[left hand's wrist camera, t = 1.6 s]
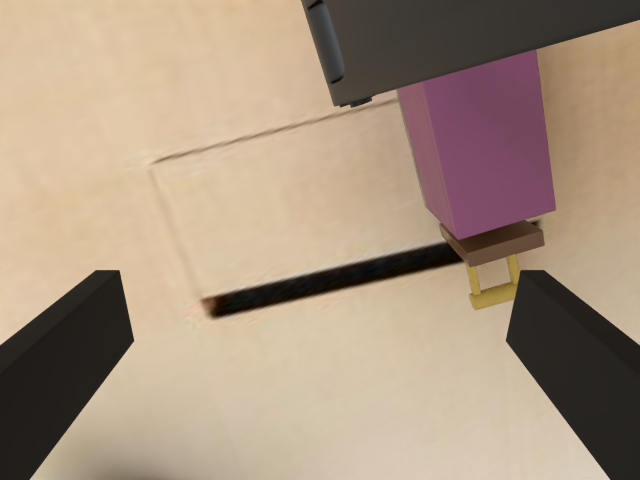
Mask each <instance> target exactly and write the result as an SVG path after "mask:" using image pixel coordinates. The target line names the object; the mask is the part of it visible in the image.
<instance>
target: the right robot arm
mask: <svg viewBox="0 0 640 480" xmlns="http://www.w3.org/2000/svg"><path fill="white" fill-rule="evenodd" d="M301 1H302V5H303V8H304V11H305V14H306V18H307V21H308V24H309V27H310V31H311V34H312V37H313V40H314V43H315V47H316V50H317V53H318V56H319V60H320V63H321V66H322V69H323V72H324V76H325V79H326V82H327V85H328V88H329V91H330V95H331V98H332V101H333V104H334V106H338V105H340V107H343V106H346V105H350V106H351V108H352V107H356V106H359V105H362V104H365V103H367V102H370V101H372V98H371V97H373V96H375V95H377V94H380V93H384V92H388V91H391V90H395V89H398V88H402V87H405V86H409V85H412V84H416V83H419V82H423V81H426V80H430V79H433V78H437V77H440V76H444V75H447V74H451V73H454V72H458V71H461V70H465V69H468V68H472V67H475V66H479V65H482V64H486V63H489V62H493V61H497V60H500V59H504V58H507V57H511V56H514V55H518V54H521V53H525V52H528V51H532V50H535V49H539V48H542V47H546V46H549V45H553V44H556V43H560V42H563V41H567V40H570V39H574V38H577V37H581V36H584V35H588V34H591V33H595V32H598V31H602V30H606V29H609V28H613V27H616V26H620V25H623V24H627V23H630V22H634V21H637V20H640V0H301Z"/></svg>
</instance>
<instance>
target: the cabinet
mask: <svg viewBox="0 0 640 480" xmlns="http://www.w3.org/2000/svg"><path fill="white" fill-rule="evenodd" d="M396 92H397V96H398V100H399V104H400V108H401V112H402V116H403V120H404V124H405V128H406V132H407V136H408V140H409V144H410V148H411V152H412V156H413V160H414V164H415V168H416V172H417V176H418V180H419V184H420V188H421V192H422V196H423V200H424V204H425V207H426V208H427V209H429V210H430V211H431V212H432V213H433V214H434V215H435V216H436V217H437V218H438V219H439V221H440V222H441V223H442V224H443V225H444V226H445V227H446V228H447V229H448V230H449V231H450V232H451V233H452V234H453V235H454V236H455V237H456V238H457V239H458V240H460V239H463V238H467V237H470V236H473V235H476V234H480V233H483V232H486V231H489V230H493V229H496V228H499V227H502V226H506V225H509V224H512V223H515V222H519V221H522V220H525V219H528V218H532V217H535V216H538V215H541V214H545V213H548V212H551V211H554V210H556V207H555V198H554V190H553V182H552V174H551V166H550V158H549V150H548V142H547V134H546V126H545V118H544V110H543V102H542V94H541V86H540V78H539V70H538V62H537V54H536V49H535V50H532V51H528V52H525V53H521V54H518V55H514V56H511V57H507V58H504V59H500V60H497V61H493V62H489V63H486V64H482V65H479V66H475V67H472V68H468V69H465V70H461V71H458V72H454V73H451V74H447V75H444V76H440V77H437V78H433V79H430V80H426V81H423V82H419V83H416V84H412V85H409V86H405V87H402V88H398V89H396Z"/></svg>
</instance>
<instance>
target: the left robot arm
mask: <svg viewBox="0 0 640 480" xmlns="http://www.w3.org/2000/svg"><path fill="white" fill-rule="evenodd" d="M133 342H134V338H133V333H132V328H131V323H130V318H129V314H128V309H127V304H126V299H125V295H124V290H123V285H122V280H121V275H120V271H119V270H96V271H94V272H93V273H92V274H91V275H89V276H88V277H87V278H85V279H84V280H83V281H82V282H80V283H79V284H78V285H77V286H75V287H74V288H73V289H71V290H70V291H69V292H68V293H66V294H65V295H64V296H63V297H61V298H60V299H59V300H57V301H56V302H55V303H54V304H52V305H51V306H50V307H49V308H47V309H46V310H45V311H43V312H42V313H41V314H40V315H38V316H37V317H36V318H35V319H33V320H32V321H31V322H29V323H28V324H27V325H26V326H24V327H23V328H22V329H21V330H19V331H18V332H17V333H15V334H14V335H13V336H12V337H10V338H9V339H8V340H6V341H5V342H4V343H3V344H1V345H0V480H30V478H31V477H32V476H33V474H34V473H35V472H36V470H37V469H38V468H39V467H40V465H41V464H42V463H43V461H44V460H45V459H46V457H47V456H48V455H49V453H50V452H51V451H52V449H53V448H54V447H55V445H56V444H57V443H58V441H59V440H60V439H61V437H62V436H63V435H64V433H65V432H66V431H67V429H68V428H69V427H70V425H71V424H72V423H73V421H74V420H75V419H76V417H77V416H78V415H79V413H80V412H81V411H82V409H83V408H84V407H85V405H86V404H87V403H88V402H89V400H90V399H91V398H92V396H93V395H94V394H95V392H96V391H97V390H98V388H99V387H100V386H101V384H102V383H103V382H104V380H105V379H106V378H107V376H108V375H109V374H110V372H111V371H112V370H113V368H114V367H115V366H116V364H117V363H118V362H119V360H120V359H121V358H122V356H123V355H124V354H125V352H126V351H127V350H128V348H129V347H130V346H131V344H132V343H133ZM506 342H507V343H508V344H509V346H510V347H511V348H512V350H513V351H514V352H515V354H516V355H517V356H518V358H519V359H520V360H521V362H522V363H523V364H524V366H525V367H526V368H527V370H528V371H529V372H530V374H531V375H532V376H533V378H534V379H535V380H536V382H537V383H538V384H539V386H540V387H541V388H542V390H543V391H544V392H545V394H546V395H547V396H548V398H549V399H550V400H551V402H552V403H553V404H554V405H555V407H556V408H557V409H558V411H559V412H560V413H561V415H562V416H563V417H564V419H565V420H566V421H567V423H568V424H569V425H570V427H571V428H572V429H573V431H574V432H575V433H576V435H577V436H578V437H579V439H580V440H581V441H582V443H583V444H584V445H585V447H586V448H587V449H588V451H589V452H590V453H591V455H592V456H593V457H594V459H595V460H596V461H597V463H598V464H599V465H600V467H601V468H602V469H603V470H604V472H605V473H606V474H607V476H608V477H609V478H610V480H640V345H639V344H637V343H636V342H635V341H634V340H632V339H631V338H630V337H628V336H627V335H626V334H625V333H623V332H622V331H621V330H619V329H618V328H617V327H616V326H614V325H613V324H612V323H611V322H609V321H608V320H607V319H605V318H604V317H603V316H602V315H600V314H599V313H598V312H597V311H595V310H594V309H593V308H591V307H590V306H589V305H588V304H586V303H585V302H584V301H583V300H581V299H580V298H579V297H577V296H576V295H575V294H574V293H572V292H571V291H570V290H569V289H567V288H566V287H565V286H563V285H562V284H561V283H560V282H558V281H557V280H556V279H555V278H553V277H552V276H551V275H549V274H548V273H547V272H546V271H544V270H521V271H520V275H519V280H518V285H517V290H516V295H515V299H514V304H513V309H512V314H511V318H510V323H509V328H508V333H507V338H506Z"/></svg>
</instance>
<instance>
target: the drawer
mask: <svg viewBox="0 0 640 480" xmlns="http://www.w3.org/2000/svg"><path fill="white" fill-rule="evenodd" d="M439 226H440V230H441V234H442V236H443V238H444V239H445V240H446V241H447V242H448V243H449V244H450V245H451V247H452V248H453V249H454V250H455V251H456V252H457V253H458V255H459V256H460V257H461V258H462V259H463V260H464V261H465V263H466V268H467V272H468V277H469V281H470V286H471V290H472V293H471V294H469V298H470V301H471V304H472V306H473V308H474V309H475V310H479V309H482V308H486V307H489V306H493V305H496V304H500V303H503V302H507V301H510V300H514V299H515V295H516V290H517V285H518V280H519V275H520V274H519V268H518V262H517V256H516V254H518V253H521V252H524V251H528V250H531V249H534V248H538V247H541V246H544V237H543V231H542V230H541V229H539V228H537V227H536V226H534V225H532V224H531V223H529V222H527V221H526V220H522V221H519V222H515V223H512V224H509V225H506V226H502V227H499V228H496V229H493V230H489V231H486V232H483V233H480V234H476V235H473V236H470V237H467V238H463V239H460V240H458V239H457V238H456V237H455V236H454V235H453V234H452V233H451V232H450V231H449V230H448V229H447V228H446V227H445V226H444V225H443V224H442V223H440V224H439ZM504 257H507V262H508V268H509V273H510V279H511V282H509V283H506V284H502V285H499V286H495V287H492V288H488V289H485V290H480V285H479V281H478V276H477V271H476V267H475V266H477V265H481V264H484V263H487V262H491V261H494V260H497V259H501V258H504Z"/></svg>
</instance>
